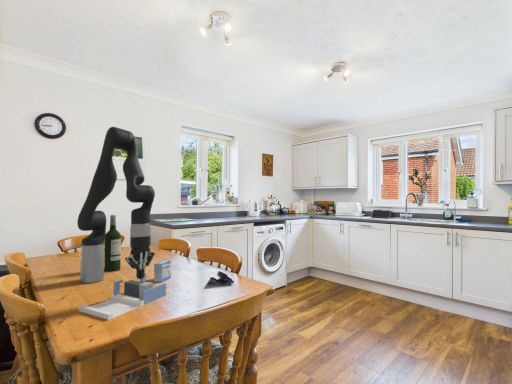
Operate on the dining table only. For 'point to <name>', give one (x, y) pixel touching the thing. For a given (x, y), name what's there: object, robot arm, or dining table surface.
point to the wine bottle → (112, 247)
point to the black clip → (220, 279)
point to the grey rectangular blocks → (136, 288)
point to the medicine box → (162, 271)
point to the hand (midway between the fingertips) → (140, 278)
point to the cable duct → (123, 301)
